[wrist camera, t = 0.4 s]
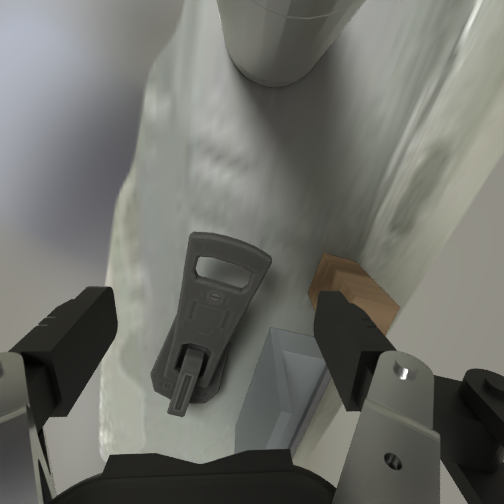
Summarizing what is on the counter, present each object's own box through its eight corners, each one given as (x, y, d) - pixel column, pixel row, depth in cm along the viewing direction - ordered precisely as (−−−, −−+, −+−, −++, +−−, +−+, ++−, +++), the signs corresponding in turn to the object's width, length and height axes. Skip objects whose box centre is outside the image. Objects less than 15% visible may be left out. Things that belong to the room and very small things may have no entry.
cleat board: (270, 327, 35) (281, 411, 24) (324, 339, 36) (360, 426, 24) (235, 426, 41) (231, 531, 30) (283, 434, 42) (296, 540, 30)
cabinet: (323, 253, 32) (355, 295, 22) (361, 263, 32) (408, 309, 23) (307, 293, 33) (331, 348, 24) (344, 302, 34) (381, 359, 24)
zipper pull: (282, 256, 25) (206, 442, 33) (275, 235, 31) (213, 395, 39) (184, 225, 24) (131, 425, 32) (197, 209, 30) (150, 380, 38)
